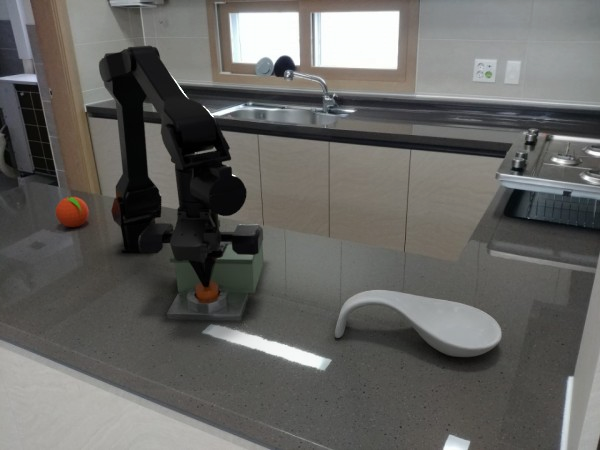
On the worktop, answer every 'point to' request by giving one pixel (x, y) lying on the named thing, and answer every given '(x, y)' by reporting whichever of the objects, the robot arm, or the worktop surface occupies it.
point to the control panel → (208, 306)
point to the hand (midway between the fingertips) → (206, 285)
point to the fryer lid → (226, 257)
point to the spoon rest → (433, 321)
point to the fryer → (224, 275)
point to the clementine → (72, 212)
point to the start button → (207, 291)
